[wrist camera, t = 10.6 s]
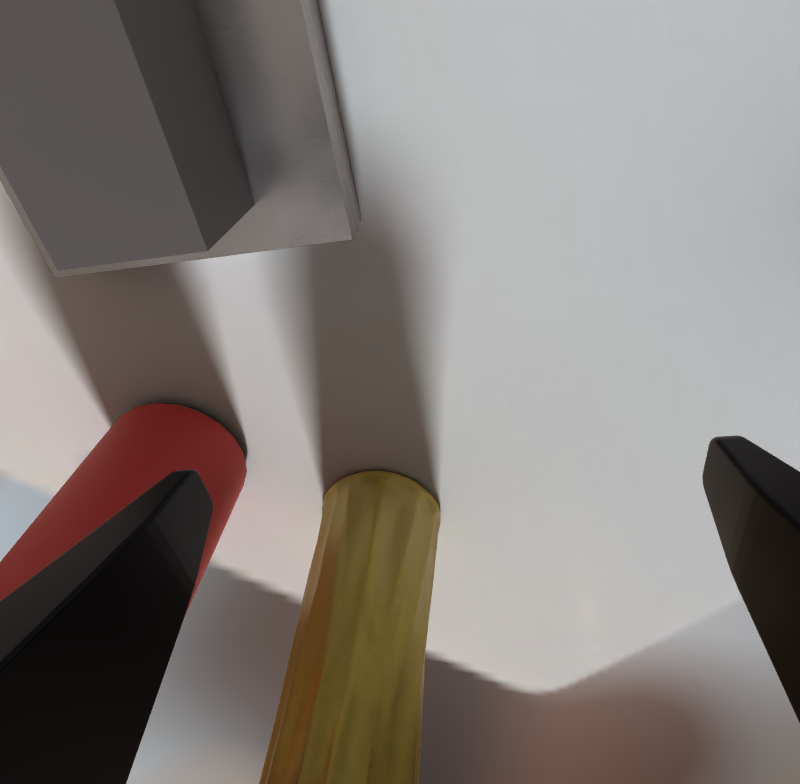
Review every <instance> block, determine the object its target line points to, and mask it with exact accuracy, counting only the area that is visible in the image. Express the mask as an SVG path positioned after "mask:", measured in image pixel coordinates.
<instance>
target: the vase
mask: <svg viewBox="0 0 800 784" xmlns="http://www.w3.org/2000/svg"><path fill="white" fill-rule="evenodd" d="M439 527H440V510H439V507H438V504H437V502H436V500H435V499H434V498H433V496H432V495H431V494H430V493H429V492H428V491H427V490H426V489H424V488H423V487H422V486H421V485H419V484H418V483H417V482H415V481H414V480H412V479H410V478H408V477H405V476H402V475H399V474H396V473H392V472H387V471H365V472H359V473H355V474H351V475H349V476H346V477H344V478H342V479H341V480H339V481H338V482H336V483H335V484H334V485H333V486H332V487H331V488H330V489H329V490H328V491H327V493H326V495H325V497H324V500H323V505H322V520H321V525H320V530H319V535H318V541H317V544H316V548H315V552H314V555H313V559H312V563H311V568H310V571H309V575H308V579H307V584H306V588H305V592H304V596H303V601H302V606H301V612H300V616H299V619H298V624H297V627H296V631H295V635H294V640H293V644H292V649H291V653H290V658H289V662H288V667H287V671H286V675H285V680H284V684H283V689H282V693H281V698H280V702H279V706H278V710H277V715H276V719H275V723H274V727H273V731H272V735H271V739H270V743H269V747H268V751H267V755H266V759H265V763H264V767H263V771H262V775H261V778H260V782H259V784H418V780H419V778H418V777H419V757H420V742H421V724H422V703H423V687H424V658H425V648H426V640H427V630H428V620H429V613H430V604H431V596H432V588H433V578H434V568H435V558H436V549H437V539H438V531H439Z"/></svg>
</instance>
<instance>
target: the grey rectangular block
mask: <svg viewBox="0 0 800 784" xmlns="http://www.w3.org/2000/svg"><path fill="white" fill-rule="evenodd" d="M0 167H1V168H2V170H3V172H4V174H5V176H6V178H7V179H8V181H9V183H10V185H11V187H12V189H13V190H14V192H15V194H16V196H17V198H18V199H19V201H20V203H21V205H22V207H23V209H24V210H25V212H26V214H27V216H28V218H29V219H30V221H31V223H32V225H33V227H34V229H35V230H36V232H37V234H38V236H39V238H40V239H41V241H42V243H43V245H44V247H45V249H46V250H47V252H48V254H49V256H50V258H51V259H52V261H53V263H54V265H55V267H56V269H57V270H58V271H60V270H67V269H75V268H83V267H90V266H98V265H106V264H114V263H121V262H129V261H137V260H144V259H152V258H160V257H167V256H175V255H183V254H190V253H198V252H206V251H209V250H210V249H211V248H212V247H213V246H214V245H215V244H216V243H217V242H218V241H219V240H220V239H221V238H222V237H223V236H224V235H225V234H226V233H227V232H228V231H229V230H230V229H231V228H232V227H233V226H234V225H235V224H236V223H237V222H238V221H239V220H240V219H241V218H242V217H243V216H244V215H245V214H246V213H247V212H248V211H249V210H250V209H251V208H252V207H253V206H254V205H255V203H254V200H253V197H252V193H251V190H250V187H249V184H248V180H247V177H246V174H245V171H244V167H243V164H242V161H241V158H240V154H239V151H238V148H237V145H236V141H235V138H234V135H233V131H232V128H231V125H230V122H229V118H228V115H227V112H226V109H225V105H224V102H223V99H222V96H221V92H220V89H219V86H218V83H217V79H216V76H215V73H214V70H213V66H212V63H211V60H210V57H209V53H208V50H207V47H206V44H205V40H204V37H203V34H202V30H201V27H200V24H199V21H198V17H197V14H196V11H195V8H194V4H193V1H192V0H0Z"/></svg>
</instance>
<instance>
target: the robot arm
mask: <svg viewBox="0 0 800 784" xmlns="http://www.w3.org/2000/svg"><path fill="white" fill-rule="evenodd" d="M703 485H704V490H705V493H706V496H707V499H708V502H709V505H710V508H711V512H712V515H713V518H714V521H715V524H716V527H717V530H718V533H719V537H720V540H721V543H722V546H723V549H724V552H725V555H726V559H727V561H728V564H729V567H730V570H731V573H732V575H733V578H734V580H735V582H736V585H737V587H738V589H739V591H740V594H741V596H742V598H743V600H744V602H745V604H746V607H747V609H748V611H749V613H750V615H751V618H752V620H753V622H754V624H755V626H756V628H757V631H758V633H759V635H760V637H761V639H762V641H763V644H764V646H765V648H766V650H767V653H768V655H769V657H770V659H771V661H772V663H773V666H774V668H775V670H776V672H777V674H778V677H779V679H780V681H781V683H782V685H783V687H784V689H785V692H786V694H787V696H788V698H789V701H790V703H791V705H792V707H793V709H794V712H795V714H796V716H797V718H798V720H799V722H800V472H799V471H798V470H796V469H794V468H793V467H791V466H789V465H788V464H786V463H785V462H783V461H781V460H780V459H778V458H777V457H775V456H773V455H772V454H770V453H768V452H767V451H765V450H764V449H762V448H760V447H759V446H757V445H755V444H754V443H752V442H751V441H749V440H747V439H746V438H744V437H741V436H722V437H715V438H713V439H712V440H711V441H710V444H709V448H708V452H707V457H706V462H705V466H704V471H703ZM212 514H213V502H212V498H211V496H210V494H209V492H208V490H207V488H206V486H205V484H204V482H203V481H202V479H201V477H200V475H199V473H198V472H197V471H195V470H191V469H190V470H177V471H173V472H171V473H170V474H168V475H167V476H166V477H164V478H163V479H162V480H160V481H159V482H158V483H156V484H155V485H154V486H152V487H151V488H150V489H148V490H147V491H146V492H144V493H143V494H142V495H140V496H139V497H138V498H137V499H135V500H134V501H133V502H131V503H130V504H129V505H127V506H126V507H125V508H123V509H122V510H121V511H119V512H118V513H117V514H115V515H114V516H113V517H111V518H110V519H109V520H107V521H106V522H105V523H103V524H102V525H101V526H99V527H98V528H97V529H95V530H94V531H93V532H91V533H90V534H89V535H87V536H86V537H85V538H83V539H82V540H81V541H79V542H78V543H77V544H75V545H74V546H73V547H71V548H70V549H69V550H67V551H66V552H65V553H63V554H62V555H61V556H59V557H58V558H57V559H55V560H54V561H53V562H51V563H50V564H49V565H47V566H46V567H45V568H43V569H42V570H41V571H39V572H38V573H37V574H35V575H34V576H33V577H32V578H30V579H29V580H28V581H26V582H25V583H24V584H22V585H21V586H20V587H18V588H17V589H16V590H14V591H13V592H12V593H10V594H9V595H8V596H6V597H5V598H4V599H2V600H1V601H0V784H126V782H127V779H128V776H129V774H130V771H131V768H132V765H133V762H134V759H135V756H136V753H137V751H138V748H139V745H140V742H141V739H142V736H143V734H144V731H145V728H146V725H147V722H148V719H149V716H150V714H151V711H152V708H153V705H154V702H155V699H156V696H157V693H158V691H159V688H160V685H161V682H162V679H163V676H164V674H165V671H166V668H167V665H168V662H169V659H170V657H171V653H172V651H173V648H174V645H175V642H176V639H177V637H178V634H179V631H180V628H181V625H182V622H183V620H184V617H185V614H186V611H187V608H188V605H189V602H190V600H191V597H192V593H193V590H194V587H195V584H196V580H197V577H198V573H199V569H200V564H201V560H202V556H203V552H204V547H205V543H206V539H207V535H208V531H209V526H210V522H211V518H212Z"/></svg>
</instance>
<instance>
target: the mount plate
mask: <svg viewBox="0 0 800 784" xmlns="http://www.w3.org/2000/svg"><path fill="white" fill-rule="evenodd" d="M192 1H193V4H194V8H195V11H196V14H197V17H198V21H199V24H200V27H201V30H202V34H203V37H204V40H205V44H206V47H207V50H208V53H209V57H210V60H211V63H212V66H213V70H214V73H215V76H216V79H217V83H218V86H219V89H220V92H221V96H222V99H223V102H224V105H225V109H226V112H227V115H228V118H229V122H230V125H231V128H232V131H233V135H234V138H235V141H236V145H237V148H238V151H239V154H240V158H241V161H242V164H243V167H244V171H245V174H246V177H247V180H248V184H249V187H250V190H251V193H252V197H253V200H254V203H255V205H254V206H253V207H252V208H251V209H250V210H249V211H248V212H247V213H246V214H245V215H244V216H243V217H242V218H241V219H240V220H239V221H238V222H237V223H236V224H235V225H234V226H233V227H232V228H231V229H230V230H229V231H228V232H227V233H226V234H225V235H224V236H223V237H222V238H221V239H220V240H219V241H218V242H217V243H216V244H215V245H214V246H213V247H212V248H211V249H210V250H209V251H206V252H198V253H190V254H183V255H175V256H167V257H160V258H152V259H144V260H137V261H129V262H121V263H114V264H106V265H98V266H90V267H83V268H75V269H67V270H60V271H58V270H57V269H56V267H55V265H54V263H53V261H52V259H51V258H50V256H49V254H48V252H47V250H46V249H45V247H44V245H43V243H42V241H41V239H40V238H39V236H38V234H37V232H36V230H35V229H34V227H33V225H32V223H31V221H30V219H29V218H28V216H27V214H26V212H25V210H24V209H23V207H22V205H21V203H20V201H19V199H18V198H17V196H16V194H15V192H14V190H13V189H12V187H11V185H10V183H9V181H8V179H7V178H6V176H5V174H4V172H3V170H2V168H1V167H0V181H1V183H2V184H3V186H4V188H5V190H6V192H7V193H8V195H9V197H10V199H11V201H12V202H13V204H14V206H15V208H16V209H17V211H18V213H19V215H20V217H21V218H22V220H23V222H24V224H25V226H26V227H27V229H28V231H29V233H30V235H31V236H32V238H33V240H34V242H35V243H36V245H37V247H38V249H39V251H40V252H41V254H42V256H43V258H44V260H45V261H46V263H47V265H48V267H49V269H50V270H51V272H52V274H53V276H54V277H55V278H59V277H67V276H75V275H82V274H90V273H98V272H105V271H113V270H121V269H129V268H136V267H144V266H152V265H160V264H167V263H175V262H183V261H191V260H198V259H206V258H214V257H221V256H229V255H237V254H245V253H252V252H260V251H268V250H276V249H283V248H291V247H299V246H307V245H314V244H322V243H330V242H338V241H345V240H352V239H353V237H354V234H355V232H356V230H357V228H358V226H359V223H360V221H361V217H360V212H359V207H358V202H357V197H356V192H355V187H354V182H353V177H352V172H351V167H350V162H349V157H348V152H347V147H346V142H345V137H344V132H343V128H342V123H341V118H340V113H339V108H338V103H337V98H336V93H335V88H334V83H333V78H332V73H331V68H330V63H329V58H328V53H327V48H326V43H325V38H324V33H323V28H322V23H321V18H320V13H319V8H318V3H317V0H192Z"/></svg>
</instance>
